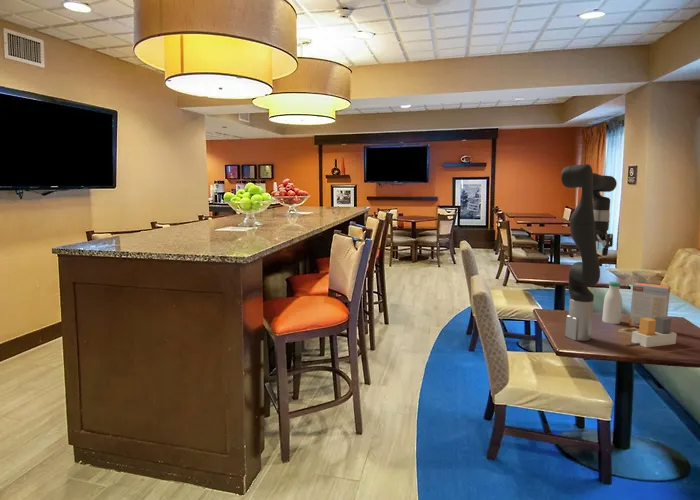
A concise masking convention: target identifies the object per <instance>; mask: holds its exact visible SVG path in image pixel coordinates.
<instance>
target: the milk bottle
mask: <svg viewBox="0 0 700 500" xmlns="http://www.w3.org/2000/svg"><path fill="white" fill-rule="evenodd" d="M608 287H609V288H608V290H607V292H606V293H605V296H604V297H603V298H604V299H603V306H602V307H603V308H602V318H601V320H602V322H603V323H606V324H610V325H618V324H620V323H621V320H622V319H621V317H622V309H623V307H622V306H623V298H622V295H621V291H620V288H621V282H617V281H610V282H608Z"/></svg>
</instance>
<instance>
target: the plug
mask: <svg viewBox="0 0 700 500" xmlns="http://www.w3.org/2000/svg"><path fill="white" fill-rule="evenodd" d="M655 327H656V320H654V319H651V318H640V326H639V328H638V329H639V333H641V334H644V335H647V336H652V335H655Z"/></svg>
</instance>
